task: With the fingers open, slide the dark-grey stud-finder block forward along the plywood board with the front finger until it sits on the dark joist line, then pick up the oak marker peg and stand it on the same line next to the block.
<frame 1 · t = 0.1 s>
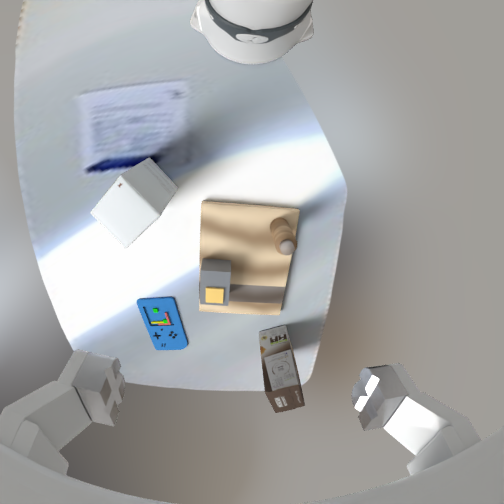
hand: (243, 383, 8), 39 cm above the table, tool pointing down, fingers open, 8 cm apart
handheld gaming device: (164, 323, 58), on the table
brown food box: (276, 340, 61), on the table
marker peg: (279, 226, 47), point 1 cm above the table, touching plywood board
supplement box: (150, 186, 43), on the table
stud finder: (215, 276, 50), point 1 cm above the table, touching plywood board
plywood board: (244, 262, 51), on the table
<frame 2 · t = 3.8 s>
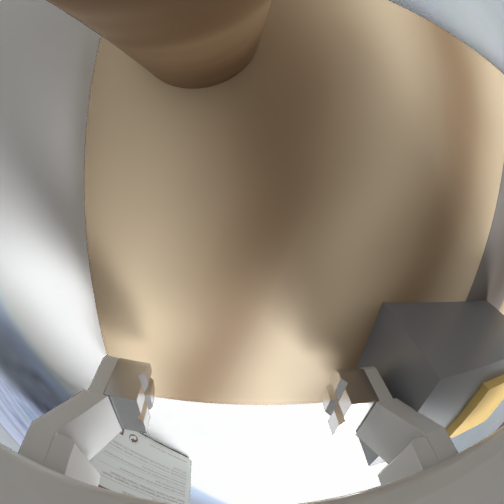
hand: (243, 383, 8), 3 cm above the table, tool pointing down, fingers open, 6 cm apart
marker peg: (198, 36, 6), point 1 cm above the table, touching plywood board
supplement box: (124, 444, 15), on the table
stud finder: (423, 348, 10), point 1 cm above the table, touching gripper, plywood board
plywood board: (406, 228, 9), on the table
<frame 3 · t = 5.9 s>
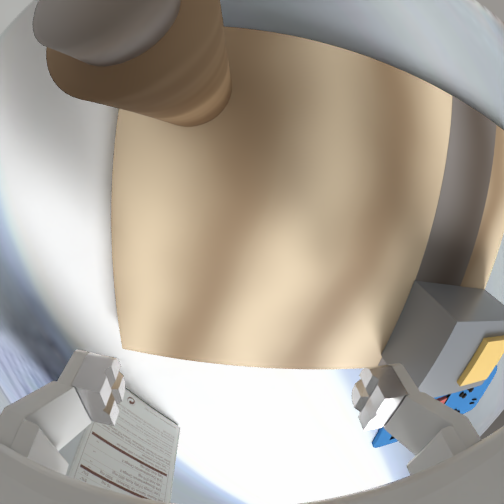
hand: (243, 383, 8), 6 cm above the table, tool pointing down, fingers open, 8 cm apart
handheld gaming device: (440, 401, 21), on the table
marker peg: (190, 88, 9), point 1 cm above the table, touching plywood board
supplement box: (122, 412, 18), on the table
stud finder: (438, 321, 14), point 1 cm above the table, touching plywood board
plywood board: (351, 226, 13), on the table
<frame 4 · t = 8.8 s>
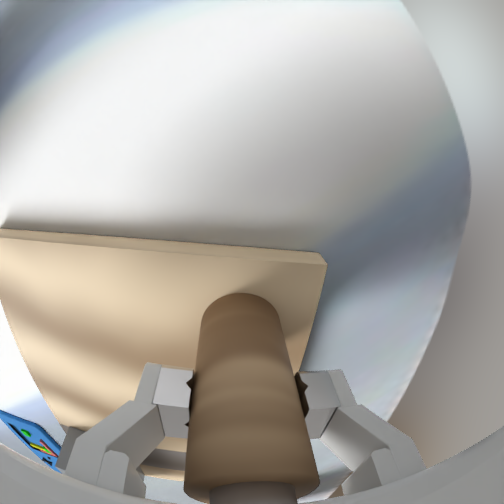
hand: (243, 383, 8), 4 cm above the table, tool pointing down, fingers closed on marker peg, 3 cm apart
handheld gaming device: (51, 449, 20), on the table
marker peg: (240, 326, 11), point 1 cm above the table, touching gripper, plywood board
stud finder: (109, 454, 16), point 1 cm above the table, touching plywood board
plywood board: (149, 405, 15), on the table
when the fingers open (5 cm above the table, at t = 13.5 s): marker peg stays where it is, resting on plywood board.
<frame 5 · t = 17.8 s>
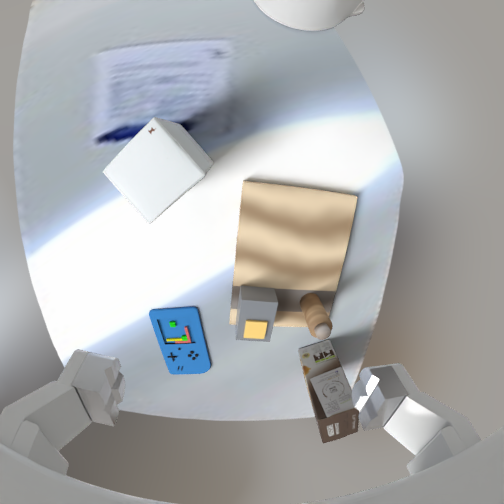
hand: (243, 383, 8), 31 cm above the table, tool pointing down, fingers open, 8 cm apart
handheld gaming device: (182, 341, 46), on the table
brown food box: (316, 359, 50), on the table
marker peg: (309, 301, 43), point 1 cm above the table, touching plywood board
supplement box: (177, 161, 35), on the table
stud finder: (254, 306, 42), point 1 cm above the table, touching plywood board
plywood board: (289, 261, 41), on the table
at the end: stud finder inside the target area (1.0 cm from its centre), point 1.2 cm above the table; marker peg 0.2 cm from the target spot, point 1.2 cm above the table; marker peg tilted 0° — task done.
